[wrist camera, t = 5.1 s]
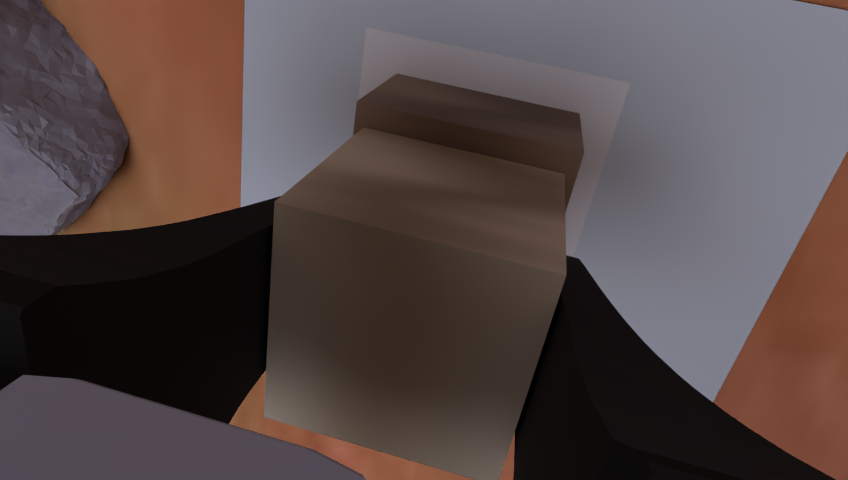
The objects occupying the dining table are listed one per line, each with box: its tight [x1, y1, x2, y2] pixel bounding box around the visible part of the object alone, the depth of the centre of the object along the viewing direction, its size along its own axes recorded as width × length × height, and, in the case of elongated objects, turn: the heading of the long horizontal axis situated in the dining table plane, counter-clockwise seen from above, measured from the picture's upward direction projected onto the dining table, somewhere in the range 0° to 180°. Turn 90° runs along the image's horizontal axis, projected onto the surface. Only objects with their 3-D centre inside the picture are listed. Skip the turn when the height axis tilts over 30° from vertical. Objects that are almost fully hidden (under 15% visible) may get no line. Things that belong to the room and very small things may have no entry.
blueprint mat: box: [241, 0, 848, 402], centre depth 17 cm, size 16×14×1 cm
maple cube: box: [264, 127, 566, 480], centre depth 12 cm, size 4×4×4 cm
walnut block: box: [353, 74, 584, 213], centre depth 15 cm, size 5×5×4 cm
